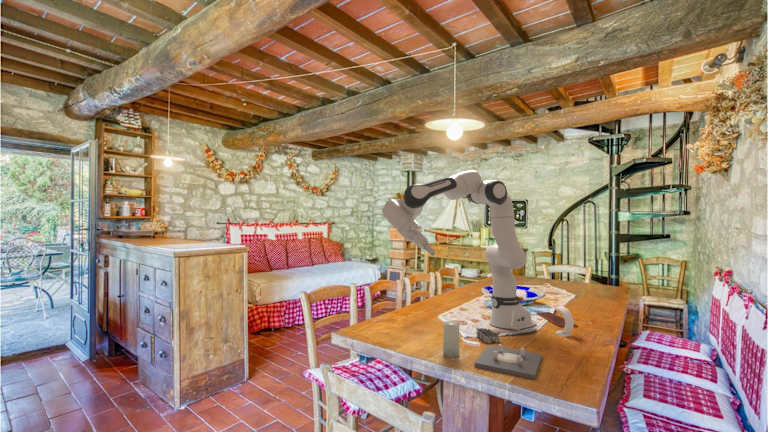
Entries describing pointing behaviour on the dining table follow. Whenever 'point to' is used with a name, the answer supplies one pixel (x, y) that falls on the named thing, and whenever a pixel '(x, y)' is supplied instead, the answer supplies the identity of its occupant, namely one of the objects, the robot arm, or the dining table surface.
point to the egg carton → (487, 335)
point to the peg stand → (510, 361)
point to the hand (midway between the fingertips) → (433, 253)
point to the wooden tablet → (554, 319)
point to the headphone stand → (568, 322)
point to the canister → (451, 339)
